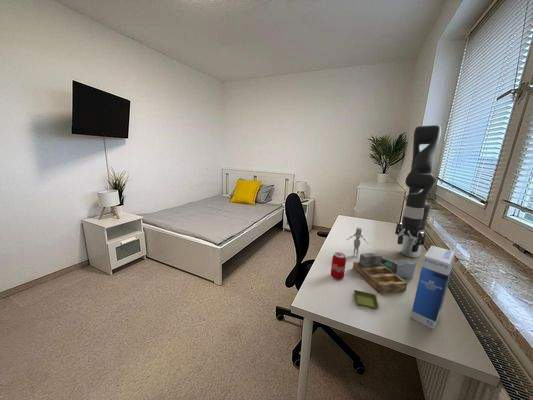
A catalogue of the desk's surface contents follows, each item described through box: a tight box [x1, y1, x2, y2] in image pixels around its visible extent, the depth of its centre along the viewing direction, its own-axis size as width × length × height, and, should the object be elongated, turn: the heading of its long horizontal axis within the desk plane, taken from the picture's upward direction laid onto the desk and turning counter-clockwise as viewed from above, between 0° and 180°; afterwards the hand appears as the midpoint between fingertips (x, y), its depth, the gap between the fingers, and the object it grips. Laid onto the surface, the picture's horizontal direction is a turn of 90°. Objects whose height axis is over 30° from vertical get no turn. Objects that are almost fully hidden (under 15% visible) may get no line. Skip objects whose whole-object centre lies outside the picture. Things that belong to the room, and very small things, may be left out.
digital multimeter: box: [381, 257, 393, 270], centre depth 119 cm, size 7×15×3 cm, turn 37°
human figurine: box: [346, 227, 369, 259], centre depth 123 cm, size 12×4×18 cm, turn 66°
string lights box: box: [410, 245, 456, 330], centre depth 78 cm, size 13×8×26 cm, turn 133°
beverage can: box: [330, 252, 347, 281], centre depth 103 cm, size 6×6×12 cm
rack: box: [352, 252, 408, 294], centre depth 102 cm, size 14×20×10 cm
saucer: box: [353, 289, 380, 310], centre depth 87 cm, size 9×9×2 cm
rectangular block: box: [390, 259, 416, 280], centre depth 105 cm, size 10×3×8 cm, turn 100°
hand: (406, 247), depth 102 cm, fingers open, 8 cm apart
